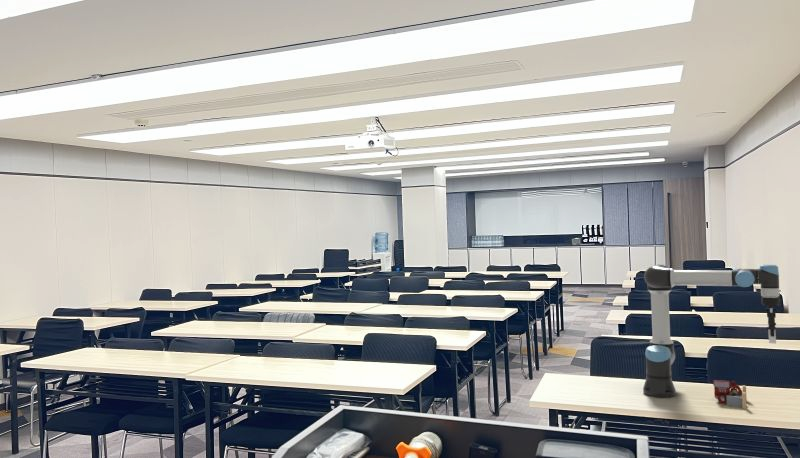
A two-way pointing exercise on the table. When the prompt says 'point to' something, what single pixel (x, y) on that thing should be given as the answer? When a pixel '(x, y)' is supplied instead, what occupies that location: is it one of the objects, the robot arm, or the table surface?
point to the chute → (737, 399)
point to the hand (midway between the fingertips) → (772, 340)
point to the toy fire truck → (725, 390)
